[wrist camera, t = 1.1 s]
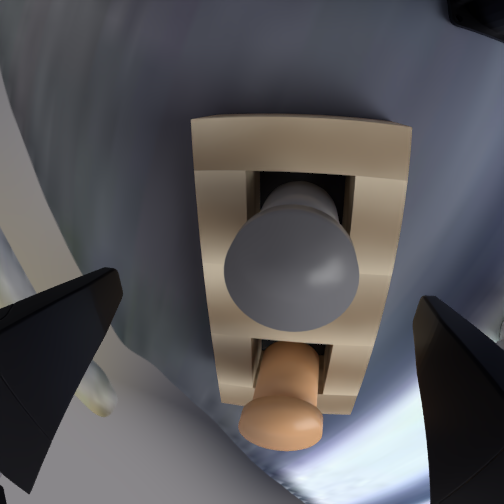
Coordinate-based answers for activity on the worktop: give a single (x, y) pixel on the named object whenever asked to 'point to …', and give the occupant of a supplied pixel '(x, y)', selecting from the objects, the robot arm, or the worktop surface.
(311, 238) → the grey mushroom knob
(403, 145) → the housing
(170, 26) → the worktop surface
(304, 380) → the mushroom knob terracotta
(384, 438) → the worktop surface
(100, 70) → the worktop surface
